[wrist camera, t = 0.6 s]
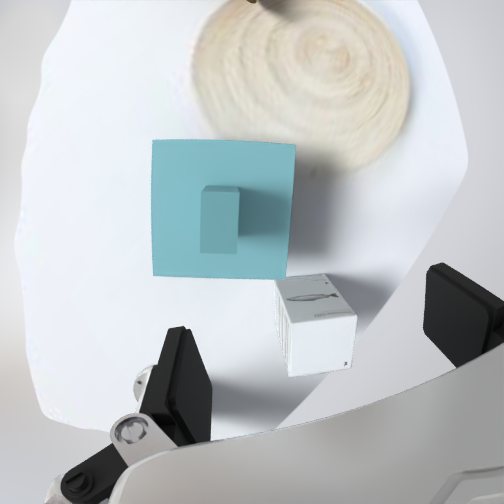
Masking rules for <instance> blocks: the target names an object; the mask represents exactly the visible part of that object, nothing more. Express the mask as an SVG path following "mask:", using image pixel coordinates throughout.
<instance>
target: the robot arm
mask: <svg viewBox="0 0 504 504" xmlns="http://www.w3.org/2000/svg"><path fill="white" fill-rule="evenodd" d="M423 330H424V333H425V335H426V336H427V337H428V338H429V339H430V340H431V341H432V342H433V343H434V344H435V345H436V346H437V347H438V348H439V349H440V350H441V352H442V353H443V354H444V355H445V356H446V357H447V358H448V359H449V360H450V361H451V362H452V363H453V364H454V366H455V367H456V369H454V370H452V371H449V372H447V373H445V374H443V375H441V376H439V377H436V378H434V379H432V380H430V381H428V382H425V383H423V384H420V385H418V386H416V387H413V388H411V389H408V390H406V391H404V392H401V393H398V394H396V395H393V396H390V397H388V398H385V399H382V400H379V401H377V402H374V403H371V404H368V405H365V406H362V407H359V408H356V409H353V410H350V411H346V412H343V413H340V414H337V415H333V416H330V417H326V418H322V419H318V420H315V421H311V422H307V423H303V424H298V425H294V426H290V427H286V428H281V429H276V430H271V431H266V432H261V433H255V434H250V435H244V436H238V437H233V438H227V439H221V440H215V441H210V438H211V410H212V385H211V382H210V379H209V377H208V374H207V372H206V369H205V367H204V364H203V361H202V359H201V356H200V353H199V351H198V348H197V345H196V343H195V340H194V337H193V334H192V332H191V330H190V329H186V328H185V327H184V326H181V327H175V328H169V329H168V332H167V335H166V338H165V341H164V345H163V348H162V351H161V355H160V358H159V361H158V365H154V366H151V367H148V368H146V369H144V370H143V371H141V372H140V373H139V374H138V376H137V377H136V379H135V382H134V386H133V392H134V396H135V398H136V400H137V402H138V405H137V408H136V411H135V413H133V414H128V415H126V416H124V417H122V418H120V419H119V420H118V421H116V422H115V424H114V425H113V426H112V428H111V431H110V438H111V441H112V444H110V445H109V446H107V447H106V448H104V449H103V450H101V451H100V452H98V453H96V454H95V455H93V456H92V457H90V458H89V459H87V460H85V461H84V462H82V463H81V464H79V465H77V466H76V467H74V468H72V469H71V470H69V471H68V472H67V473H66V474H64V475H59V476H57V477H56V478H55V479H54V480H53V481H52V482H51V484H50V486H49V488H48V490H47V493H46V496H45V500H44V504H504V301H503V300H501V299H500V298H498V297H497V296H495V295H494V294H492V293H491V292H489V291H488V290H486V289H485V288H483V287H482V286H480V285H478V284H477V283H475V282H474V281H472V280H471V279H469V278H467V277H466V276H464V275H463V274H461V273H460V272H458V271H456V270H455V269H453V268H451V267H450V266H448V265H446V264H445V263H439V264H436V265H432V266H430V268H429V270H428V271H427V274H426V293H425V310H424V322H423Z"/></svg>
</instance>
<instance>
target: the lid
mask: <svg viewBox="0 0 504 504" xmlns="http://www.w3.org/2000/svg"><path fill="white" fill-rule="evenodd" d="M295 151H296V145H292V144H281V143H268V142H252V141H232V140H153V144H152V173H151V230H152V260H153V276H167V277H194V278H227V279H273V280H285V277H286V267H287V256H288V245H289V233H290V221H291V209H292V196H293V182H294V167H295Z"/></svg>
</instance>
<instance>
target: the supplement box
mask: <svg viewBox="0 0 504 504" xmlns="http://www.w3.org/2000/svg"><path fill="white" fill-rule="evenodd" d="M274 292H275V324H276V328H277V332H278V336H279V340H280V344H281V347H282V351H283V354H284V358H285V362H286V366H287V370H288V376H289V377H299V376H306V375H313V374H321V373H326V372H332V371H338V370H344V369H350V368H351V366H352V357H353V350H354V343H355V335H356V327H357V314H356V313H355V312H354V311H353V309H352V308H351V307H350V305H349V304H348V303H347V302H346V300H345V299H344V298H343V296H342V295H341V294H340V293H339V291H338V290H337V289H336V287H335V286H334V285H333V284H332V282H331V281H330V280H329V279H328V277H327V276H326V275H325V274H318V275H310V276H300V277H285V280H274Z"/></svg>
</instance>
